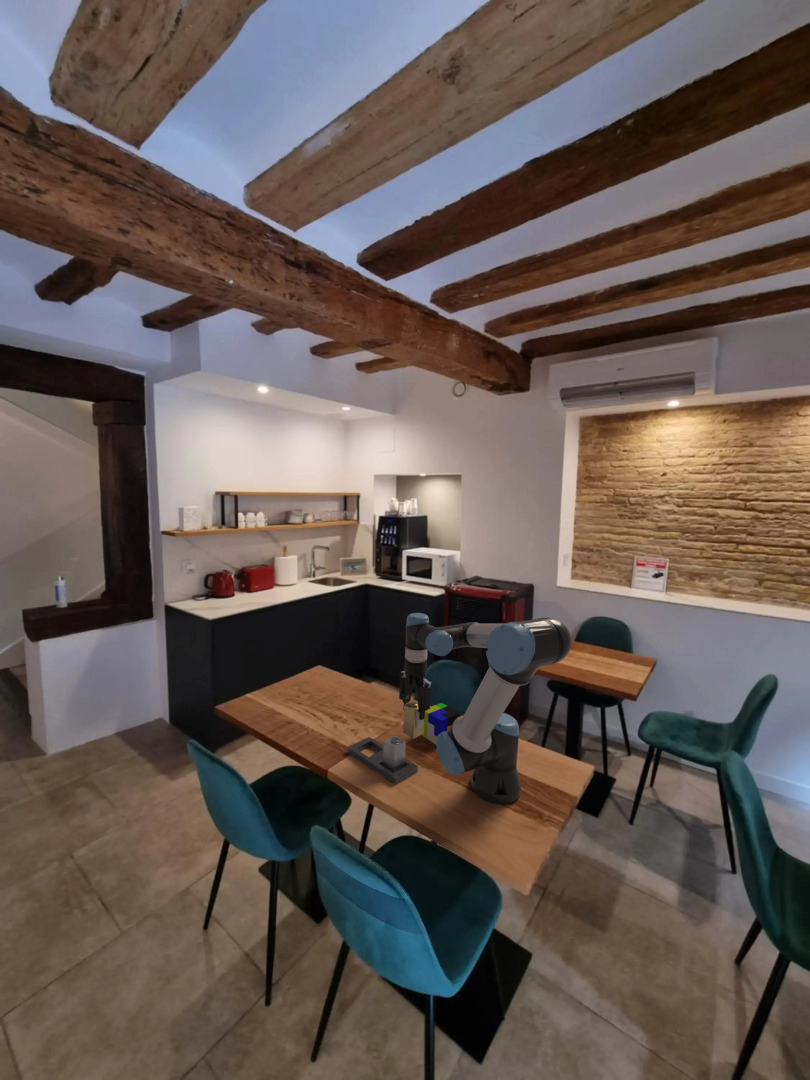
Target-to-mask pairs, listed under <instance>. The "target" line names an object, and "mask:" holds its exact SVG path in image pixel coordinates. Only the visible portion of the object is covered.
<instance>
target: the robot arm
mask: <svg viewBox="0 0 810 1080" xmlns="http://www.w3.org/2000/svg"><path fill="white" fill-rule="evenodd" d="M572 643H573V642H572V636H571V633H570V631H569V629H568V627H567V626H566V625H565V624H564V623H563V622H562V621H560V620H558V619H556V618H552V617H539V618H534V619H528V620H522V621H510V622H505V623H479V622H477V621H475V622H474V621H473V622H471V621H470V622H466V623H465V622H464V623H458V624H454V625H445V626H438V627H435V626H433V625H431V624H430V619H429V616H428V614H426V613H423V612H422V613H421V612H413V613H410V614H408V615H407V617H406V624H405V651H404V653H405V654H404V657H405V658H404V670H403V671H400V672H398V675H399V694H398V699H399V700H401V701H402V703H403V711H404V705H405V704H408V703H410V702H412V699H411V697H412V695H413V690H414V691H415V692H416V694H415V695H416V699H417V701H416V702H418V708H419V709H418V710H417V718H416V729H419V728H421V727H423V719H424V718H425V711H427V710H429V709H430V707H431V696H432V694H431V693H432V690H431V689H432V687H433V682H432V681H429V680H428V679H427V675H426V672H427V669H428V660H427V659H428V652H429V653H431V654H433V655H436V656H438V657H444V656H447V655H448V654H449V653H451V651H452V650H455V649H459V648H467V647H469V648H481V649H482V648H484V649H487V650H486V651H485V653H486V654H485V655H486V658H487V661H488V669H487V671H486V672H485V673H486V674H485V675H484V677H483V679H482V681H481V682H480V684H479V687H478V688H477V690H476V692H475V694H474V696H473V697H472V699H471V701H470V702H469V703H470V704H468V707H467V709H466V711H465V713H464V714H463V715H460V717H458V718H457V719H456V720H455V721H454V723H453V725H452V727H451V729H450V730H448V731H446V732H445V731H444V732H442V733H440V734H439V735H438V736H437V740H436V744H435V746H436V751H437V755H438V758H439V760H440V763H441V765H442V767H443V768H444V769H445V771H446V772H447V773H448V774H450V775H452V776H457V775H463V774H464V773H467V772H470V771H472V770H473V773H472V775H471V783H470V784H471V789H472V790H473V792H474V793H475V794H476V795H477V796H478V797H479V798H481V799H482V800H484V801H487V802H490V803H492V804H500V805H501V804H502V805H504V804H505V805H506V804H511V803H514V802H516V801H517V800H519V798H520V797H521V794H522V782H521V778H520V775H519V771H518V767H517V765H518V753H519V752H518V751H519V740H520V739H519V737H520V733H519V723H518V720H516V719H515V718H514V717H513V716H512V715H510V714H508V713H506V712H505V710H506V709H507V707H509V704H510V703H511V702H512V701H511V700H512V699H513V697H514V696H515V695H516V693H517V691H518V690H519V687H521V686H522V687H523V686H525V685H528V684H529V683H531V680H532V679H533V677H534V675H535V674H536V672H537V671H538V669H540V668H542V667H547V666H551V665H555V664H558V663H559V662H561V661H563V660H564V659H566V657H567V656H568V655H569V653H570V651H571V648H572Z"/></svg>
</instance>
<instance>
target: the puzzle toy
mask: <svg viewBox="0 0 810 1080" xmlns="http://www.w3.org/2000/svg"><path fill="white" fill-rule="evenodd" d="M460 716H461V712H459V711H458V710H456V709H454V708H452V707H450V706H448V705H446V704H445V703H443V702H441V703H437V704H435V705H432V706H430V709H429V710H427V711H425V718H424V733H423V734H421V735H420V736H422V737H423V738H425V739H427V740H428V741H429V742H431V743H432V744H434V745H436V740H437V736H438V735H439V734H440V733H442V732H444V731H445V732H446V731H448V730H450V729H451V727H452V725H453V723H454V721H455V720H456V719H457V718H458V717H460Z"/></svg>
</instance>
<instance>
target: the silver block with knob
mask: <svg viewBox="0 0 810 1080" xmlns="http://www.w3.org/2000/svg"><path fill="white" fill-rule="evenodd" d="M406 743H407V742H406V740H404V738H403V739H402V738H401V737H399V736H398V735H395V734H394V735H392V736H390V737H388V738H386V739H384V740H383V745H384V753H383V767H385V768H386V769H388V770H389V771H391V772H392V773H395V772H397V771H399V770H400V769H402V768H404V767H405V758H406V745H407V744H406Z"/></svg>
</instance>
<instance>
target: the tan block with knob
mask: <svg viewBox="0 0 810 1080" xmlns="http://www.w3.org/2000/svg"><path fill="white" fill-rule="evenodd" d="M409 702H410V703H408V704H405V705H404V704H403V707H404V710H403V722H402V723H403V727H402V733H403V734H404V735H406V736H408V737H410V738H411V739H415V738H417V737H419V736H422V735H421V734H423V733H424V719H423V727H421V728H419V729H416V718H417V710H418V709H419V708H418V701H415V700H413V701H412V700H411V701H409Z"/></svg>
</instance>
